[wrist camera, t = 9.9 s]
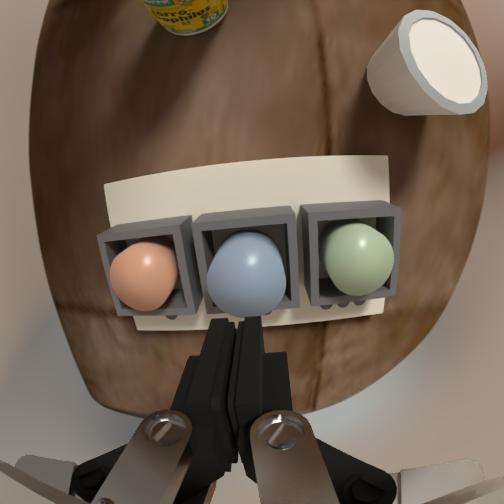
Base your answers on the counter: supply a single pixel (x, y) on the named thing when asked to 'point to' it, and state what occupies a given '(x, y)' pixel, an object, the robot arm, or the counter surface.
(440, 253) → the counter surface
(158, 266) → the button one
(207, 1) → the supplement bottle
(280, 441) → the robot arm
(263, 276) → the button two
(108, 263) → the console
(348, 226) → the button three
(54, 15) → the counter surface
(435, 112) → the white tapered cup
